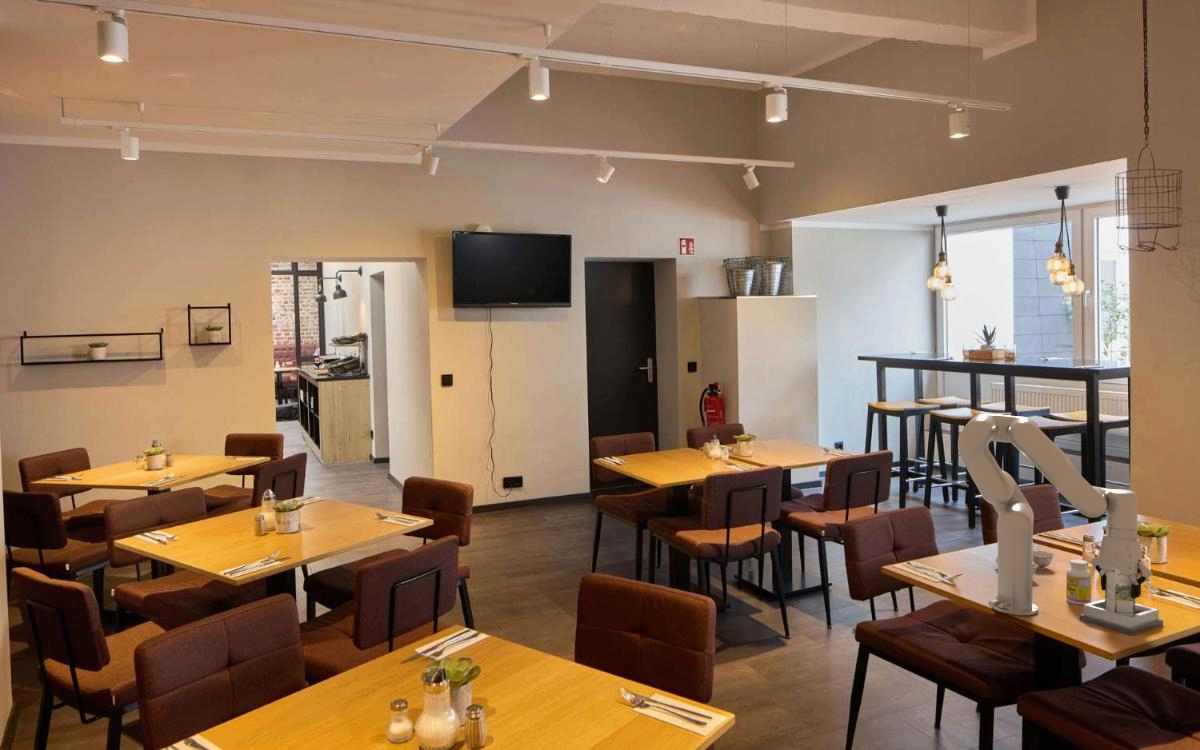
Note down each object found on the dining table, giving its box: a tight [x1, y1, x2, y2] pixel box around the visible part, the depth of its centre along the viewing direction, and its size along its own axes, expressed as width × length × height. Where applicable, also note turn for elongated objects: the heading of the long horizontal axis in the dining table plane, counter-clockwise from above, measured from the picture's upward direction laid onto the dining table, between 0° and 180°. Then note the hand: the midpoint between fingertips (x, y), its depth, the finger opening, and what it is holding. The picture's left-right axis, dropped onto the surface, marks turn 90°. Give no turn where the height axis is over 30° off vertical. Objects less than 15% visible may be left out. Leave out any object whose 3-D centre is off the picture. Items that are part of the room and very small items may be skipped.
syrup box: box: [1104, 567, 1136, 616], centre depth 245 cm, size 6×6×14 cm
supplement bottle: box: [1065, 558, 1092, 606], centre depth 264 cm, size 7×7×13 cm
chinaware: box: [995, 550, 1055, 576], centre depth 296 cm, size 28×17×17 cm, turn 141°
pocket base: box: [1079, 598, 1164, 636], centre depth 246 cm, size 15×15×4 cm
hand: (1120, 593), depth 245 cm, fingers closed on syrup box, 7 cm apart
